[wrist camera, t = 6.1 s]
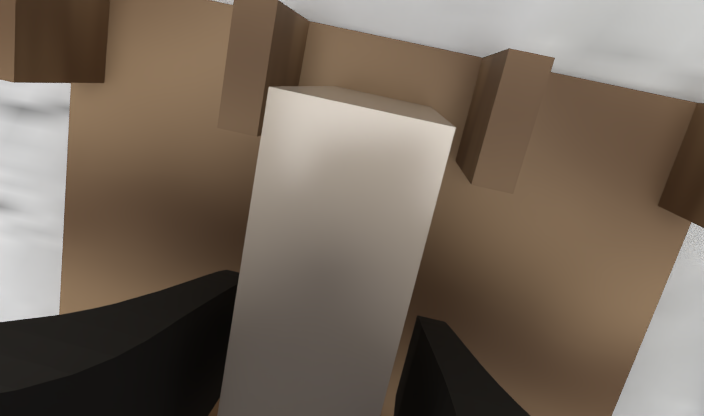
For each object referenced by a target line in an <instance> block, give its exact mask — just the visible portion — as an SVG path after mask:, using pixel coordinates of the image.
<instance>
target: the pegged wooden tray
mask: <svg viewBox="0 0 704 416" xmlns="http://www.w3.org/2000/svg"><path fill="white" fill-rule="evenodd" d="M554 59H555V58H552V57H548V56H543V55H538V54H533V53H528V52H524V51H519V50H514V49H507V50H504V51H501V52H498V53H495V54H492V55H489V56H487V57H484V58H481V57H476V56H472V55H467V54H462V53H457V52H453V51H448V50H443V49H438V48H434V47H429V46H424V45H419V44H415V43H410V42H405V41H400V40H396V39H391V38H386V37H381V36H377V35H372V34H367V33H362V32H358V31H353V30H348V29H343V28H339V27H334V26H329V25H324V24H320V23H315V22H310V21H308V20H307V19H305V18H304V17H302V16H301V15H299V14H298V13H296V12H295V11H293V10H292V9H290V8H289V7H287V6H286V5H284V4H283V3H281V2H280V1H279V0H234V4H233V5H229V4H225V3H220V2H215V1H210V0H0V79H1V80H5V81H10V82H29V83H71V95H70V114H69V134H68V154H67V174H66V193H65V213H64V233H63V253H62V272H61V292H60V312H59V315H61V314H67V313H72V312H77V311H83V310H88V309H93V308H97V307H102V306H106V305H111V304H115V303H119V302H122V301H126V300H129V299H133V298H136V297H139V296H143V295H146V294H150V293H153V292H157V291H160V290H163V289H166V288H169V287H172V286H175V285H178V284H181V283H184V282H187V281H190V280H193V279H196V278H199V277H202V276H205V275H208V274H211V273H214V272H218V271H222V270H231V271H235V272H239V273H240V267H241V261H242V254H243V248H244V242H245V235H246V229H247V223H248V216H249V210H250V203H251V197H252V191H253V184H254V178H255V172H256V165H257V159H258V152H259V146H260V140H261V133H262V127H263V121H264V114H265V108H266V101H267V95H268V89H269V87H272V86H338V87H342V88H347V89H352V90H356V91H361V92H365V93H370V94H375V95H379V96H384V97H388V98H393V99H398V100H402V101H407V102H411V103H416V104H421V105H425V106H430V107H432V108H433V109H434V110H435V111H437V112H438V113H439V114H440V115H441V116H443V117H444V118H445V119H446V120H448V121H449V122H450V123H451V124H452V125H454V126H455V127H456V129H455V133H454V137H453V141H452V144H451V148H450V152H449V156H448V160H447V163H446V167H445V171H444V175H443V179H442V182H441V186H440V190H439V194H438V198H437V201H436V205H435V209H434V213H433V217H432V220H431V224H430V228H429V232H428V236H427V239H426V243H425V247H424V251H423V255H422V258H421V262H420V266H419V270H418V274H417V278H416V281H415V285H414V289H413V293H412V297H411V300H410V304H409V308H408V312H407V316H406V319H405V323H404V327H403V331H402V335H401V338H400V342H399V346H398V350H397V354H396V357H395V361H394V365H393V369H392V373H391V376H390V380H389V384H388V388H387V392H386V395H385V399H384V403H383V407H382V411H381V415H380V416H394V407H395V397H396V392H397V388H398V385H399V381H400V377H401V374H402V370H403V366H404V362H405V359H406V355H407V351H408V347H409V344H410V340H411V336H412V333H413V329H414V325H415V321H416V318H417V315H419V316H423V317H427V318H431V319H436V320H440V321H444V322H446V323H447V324H448V325H449V326H450V328H451V329H452V330H453V331H454V332H455V333H456V335H457V336H458V337H459V338H460V340H461V341H462V342H463V343H464V345H465V346H466V347H467V348H468V349H469V351H470V352H471V353H472V354H473V355H474V357H475V358H476V359H477V360H478V361H479V363H480V364H481V365H482V366H483V367H484V368H485V369H486V371H487V372H488V373H489V374H490V375H491V376H492V377H493V378H494V379H495V381H496V382H497V383H498V384H499V385H500V386H501V387H502V388H503V389H504V390H505V391H506V392H507V393H508V394H509V395H510V396H511V397H512V398H513V399H514V400H515V401H516V402H517V403H518V404H519V405H520V406H521V407H522V408H523V409H524V410H525V411H526V412H527V413H528V414H529V415H530V416H612V413H613V411H614V408H615V406H616V404H617V401H618V399H619V396H620V394H621V391H622V389H623V387H624V384H625V382H626V379H627V377H628V374H629V372H630V370H631V367H632V365H633V362H634V360H635V358H636V355H637V353H638V350H639V348H640V345H641V343H642V341H643V338H644V336H645V333H646V331H647V328H648V326H649V324H650V321H651V319H652V316H653V314H654V311H655V309H656V307H657V304H658V302H659V299H660V297H661V295H662V292H663V290H664V287H665V285H666V282H667V280H668V278H669V275H670V273H671V270H672V268H673V265H674V263H675V261H676V258H677V256H678V253H679V251H680V248H681V246H682V244H683V241H684V239H685V236H686V234H687V232H688V229H689V227H690V224H691V222H693V223H695V224H697V225H699V226H701V227H703V228H704V103H695V102H690V101H685V100H681V99H676V98H671V97H666V96H662V95H657V94H652V93H647V92H643V91H638V90H633V89H628V88H624V87H619V86H614V85H609V84H605V83H600V82H595V81H590V80H586V79H581V78H576V77H571V76H567V75H562V74H557V73H552V72H551V69H552V65H553V62H554ZM219 401H220V398H219V400H218V401H217V403H216V404H215V406H214V407H213V409H212V410H211V412H210V414H209V415H208V416H217V414H218V407H219Z"/></svg>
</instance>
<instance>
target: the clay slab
mask: <svg viewBox="0 0 704 416" xmlns="http://www.w3.org/2000/svg"><path fill="white" fill-rule="evenodd" d="M455 129H456V127H455V126H454V125H452V124H451V123H450V122H449V121H448V120H446V119H445V118H444V117H443V116H441V115H440V114H439V113H438V112H437V111H435V110H434V109H433V108H432V107H430V106H425V105H421V104H416V103H411V102H407V101H402V100H398V99H393V98H388V97H384V96H379V95H375V94H370V93H365V92H361V91H356V90H352V89H347V88H342V87H338V86H272V87H269V89H268V95H267V101H266V108H265V114H264V121H263V127H262V133H261V140H260V146H259V152H258V159H257V165H256V172H255V178H254V184H253V191H252V197H251V203H250V210H249V216H248V223H247V229H246V235H245V242H244V248H243V254H242V261H241V267H240V274H239V280H238V286H237V293H236V299H235V305H234V312H233V318H232V325H231V331H230V337H229V344H228V350H227V356H226V363H225V369H224V376H223V382H222V388H221V395H220V401H219V407H218V414H217V416H380V415H381V411H382V407H383V403H384V399H385V395H386V392H387V388H388V384H389V380H390V376H391V373H392V369H393V365H394V361H395V357H396V354H397V350H398V346H399V342H400V338H401V335H402V331H403V327H404V323H405V319H406V316H407V312H408V308H409V304H410V300H411V297H412V293H413V289H414V285H415V281H416V278H417V274H418V270H419V266H420V262H421V258H422V255H423V251H424V247H425V243H426V239H427V236H428V232H429V228H430V224H431V220H432V217H433V213H434V209H435V205H436V201H437V198H438V194H439V190H440V186H441V182H442V179H443V175H444V171H445V167H446V163H447V160H448V156H449V152H450V148H451V144H452V141H453V137H454V133H455Z"/></svg>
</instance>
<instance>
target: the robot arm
mask: <svg viewBox="0 0 704 416" xmlns="http://www.w3.org/2000/svg"><path fill="white" fill-rule="evenodd" d="M239 274H240V273H239V272H235V271H231V270H222V271H218V272H214V273H211V274H208V275H205V276H202V277H199V278H196V279H193V280H190V281H187V282H184V283H181V284H178V285H175V286H172V287H169V288H166V289H163V290H160V291H157V292H153V293H150V294H146V295H143V296H139V297H136V298H133V299H129V300H126V301H122V302H119V303H115V304H111V305H106V306H102V307H97V308H93V309H88V310H83V311H77V312H72V313H67V314H61V315H55V316H48V317H40V318H32V319H23V320H15V321H7V322H0V416H208V415H209V414H210V412H211V410H212V409H213V407H214V406H215V404H216V403H217V401H218V400H219V398H220V395H221V388H222V382H223V376H224V369H225V363H226V356H227V350H228V344H229V337H230V331H231V325H232V318H233V312H234V305H235V299H236V293H237V286H238V280H239ZM394 416H530V415H529V414H528V413H527V412H526V411H525V410H524V409H523V408H522V407H521V406H520V405H519V404H518V403H517V402H516V401H515V400H514V399H513V398H512V397H511V396H510V395H509V394H508V393H507V392H506V391H505V390H504V389H503V388H502V387H501V386H500V385H499V384H498V383H497V382H496V381H495V379H494V378H493V377H492V376H491V375H490V374H489V373H488V372H487V371H486V369H485V368H484V367H483V366H482V365H481V364H480V363H479V361H478V360H477V359H476V358H475V357H474V355H473V354H472V353H471V352H470V351H469V349H468V348H467V347H466V346H465V345H464V343H463V342H462V341H461V340H460V338H459V337H458V336H457V335H456V333H455V332H454V331H453V330H452V329H451V328H450V326H449V325H448V324H447V323H446V322H444V321H440V320H436V319H431V318H427V317H423V316H419V315H417V318H416V321H415V325H414V329H413V333H412V336H411V340H410V344H409V347H408V351H407V355H406V359H405V362H404V366H403V370H402V374H401V377H400V381H399V385H398V388H397V392H396V397H395V407H394Z"/></svg>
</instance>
